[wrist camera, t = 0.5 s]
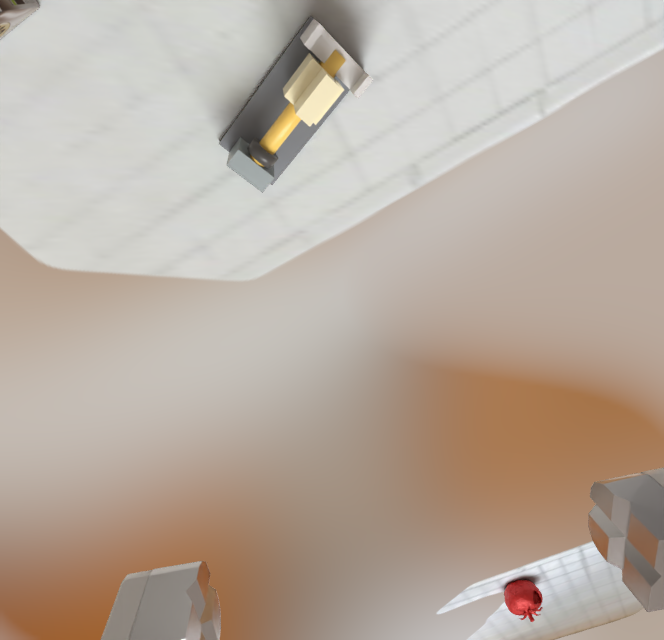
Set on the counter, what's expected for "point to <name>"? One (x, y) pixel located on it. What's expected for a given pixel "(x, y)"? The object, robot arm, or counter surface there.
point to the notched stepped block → (312, 91)
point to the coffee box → (15, 13)
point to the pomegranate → (523, 598)
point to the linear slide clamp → (286, 109)
